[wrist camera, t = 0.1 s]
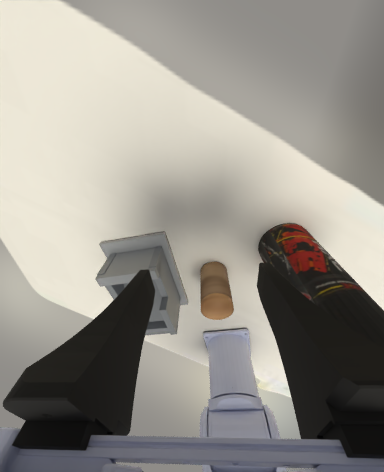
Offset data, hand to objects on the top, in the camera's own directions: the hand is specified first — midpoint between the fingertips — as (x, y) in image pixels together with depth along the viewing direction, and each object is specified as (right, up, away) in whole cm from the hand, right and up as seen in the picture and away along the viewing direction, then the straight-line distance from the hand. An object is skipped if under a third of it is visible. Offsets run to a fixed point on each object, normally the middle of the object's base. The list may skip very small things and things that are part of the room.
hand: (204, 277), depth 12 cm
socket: (-7, -3, +14) cm, 16 cm away
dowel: (+2, -2, +13) cm, 14 cm away
